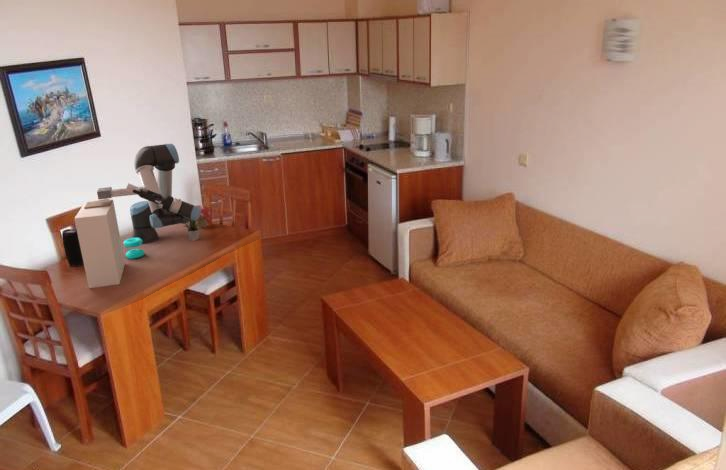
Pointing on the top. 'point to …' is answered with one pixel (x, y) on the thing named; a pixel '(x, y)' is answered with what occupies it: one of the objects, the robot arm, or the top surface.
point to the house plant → (193, 229)
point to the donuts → (134, 252)
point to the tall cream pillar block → (100, 243)
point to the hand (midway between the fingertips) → (127, 186)
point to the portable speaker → (72, 247)
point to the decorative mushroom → (203, 215)
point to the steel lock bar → (116, 192)
